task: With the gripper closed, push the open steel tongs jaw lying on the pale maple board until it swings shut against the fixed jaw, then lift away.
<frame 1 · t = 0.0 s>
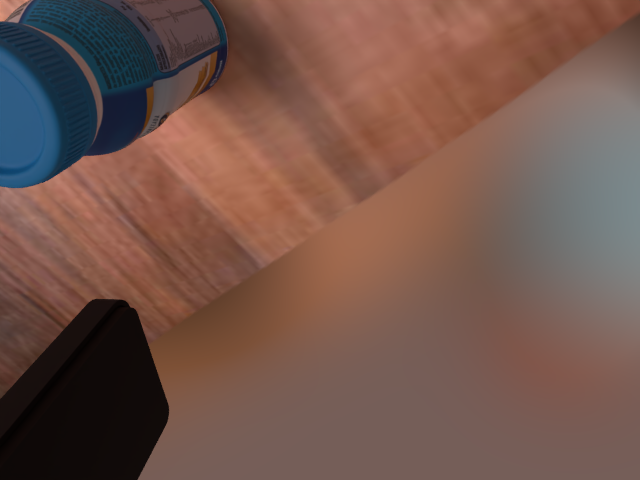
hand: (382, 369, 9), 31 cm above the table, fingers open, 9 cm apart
beverage bottle: (179, 38, 38), on the table
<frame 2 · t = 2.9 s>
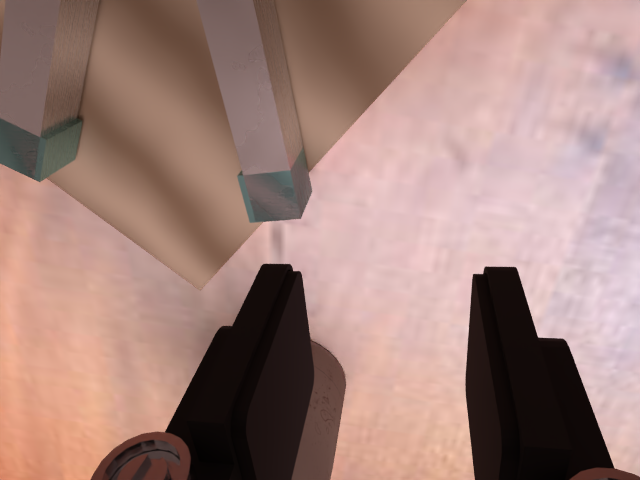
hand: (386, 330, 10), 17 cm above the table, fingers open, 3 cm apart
maple board: (162, 24, 25), on the table
thermos bottle: (290, 375, 36), on the table
tongs jaw: (246, 53, 21), point 3 cm above the table, hinge at 35.0°
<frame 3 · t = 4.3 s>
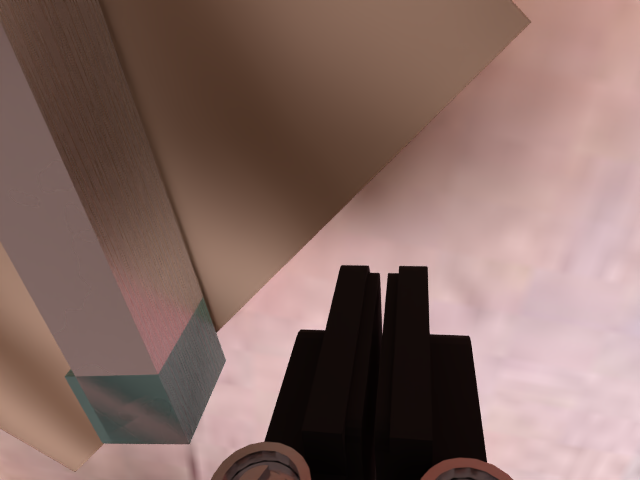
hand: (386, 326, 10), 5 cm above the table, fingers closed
tongs jaw: (61, 159, 11), point 3 cm above the table, hinge at 35.0°
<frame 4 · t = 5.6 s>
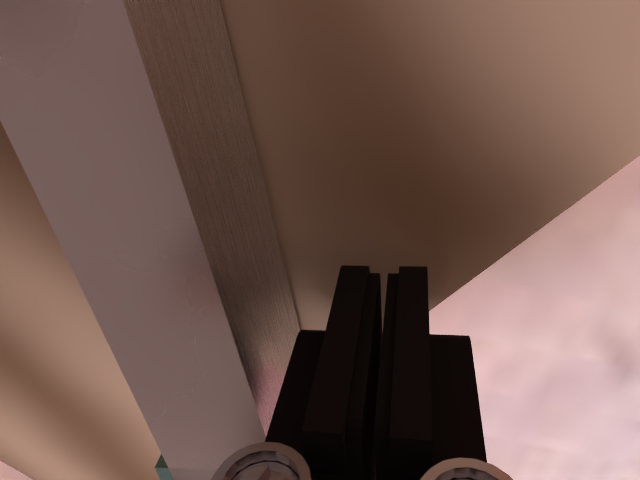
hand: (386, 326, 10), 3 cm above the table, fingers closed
maple board: (12, 99, 12), on the table
tongs jaw: (165, 204, 9), point 3 cm above the table, hinge at 34.8°, touching gripper
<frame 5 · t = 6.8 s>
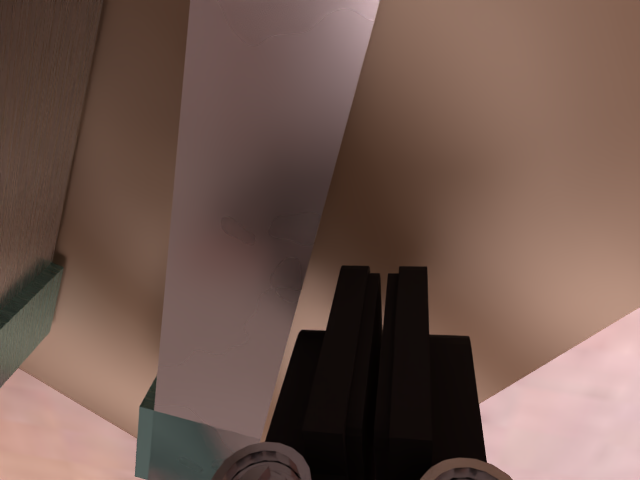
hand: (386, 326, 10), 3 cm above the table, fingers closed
maple board: (238, 67, 11), on the table
tongs jaw: (257, 176, 9), point 3 cm above the table, hinge at 11.3°, touching gripper
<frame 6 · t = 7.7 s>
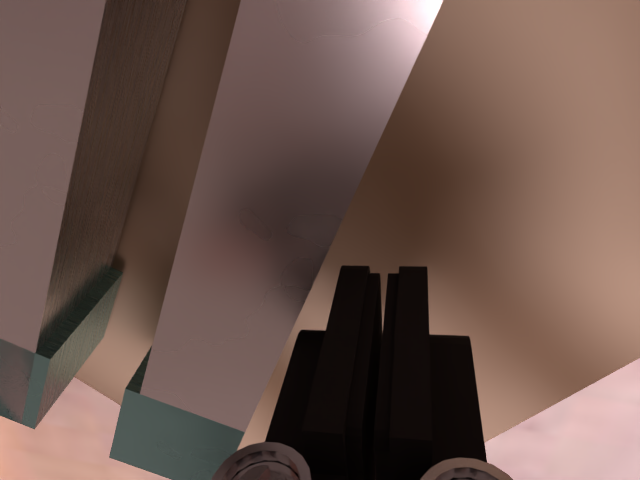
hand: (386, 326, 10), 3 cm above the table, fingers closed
maple board: (306, 71, 11), on the table
tongs jaw: (275, 171, 9), point 3 cm above the table, hinge at 4.4°, touching gripper
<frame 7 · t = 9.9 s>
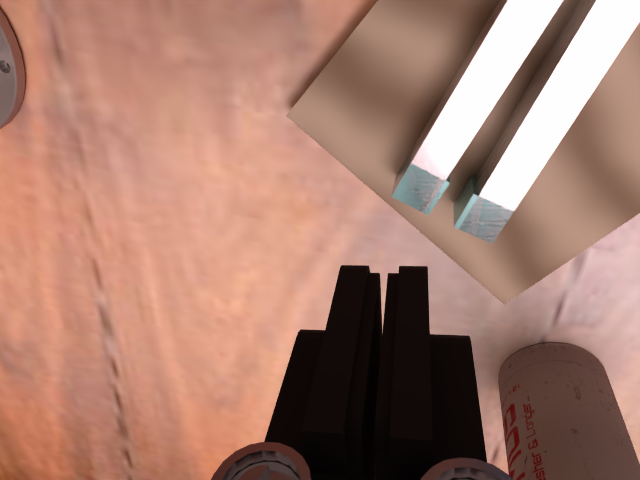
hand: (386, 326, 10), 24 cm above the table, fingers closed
maple board: (532, 85, 30), on the table
thermos bottle: (550, 378, 40), on the table
tongs jaw: (537, 117, 27), point 3 cm above the table, hinge at 4.3°
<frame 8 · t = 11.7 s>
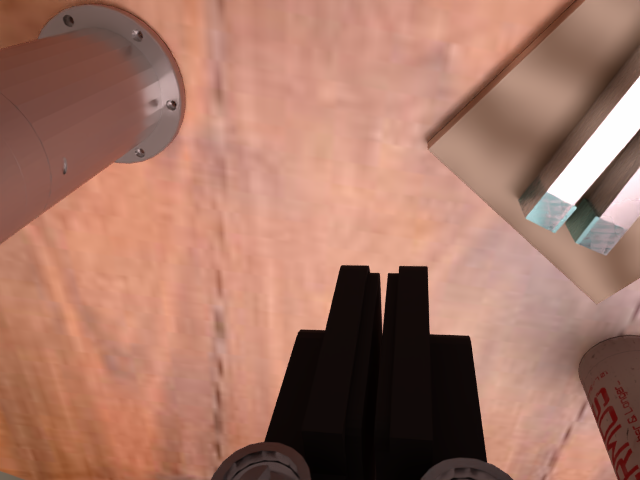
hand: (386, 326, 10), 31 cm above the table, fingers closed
maple board: (637, 126, 37), on the table
thermos bottle: (623, 366, 48), on the table
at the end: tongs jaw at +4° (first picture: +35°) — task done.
